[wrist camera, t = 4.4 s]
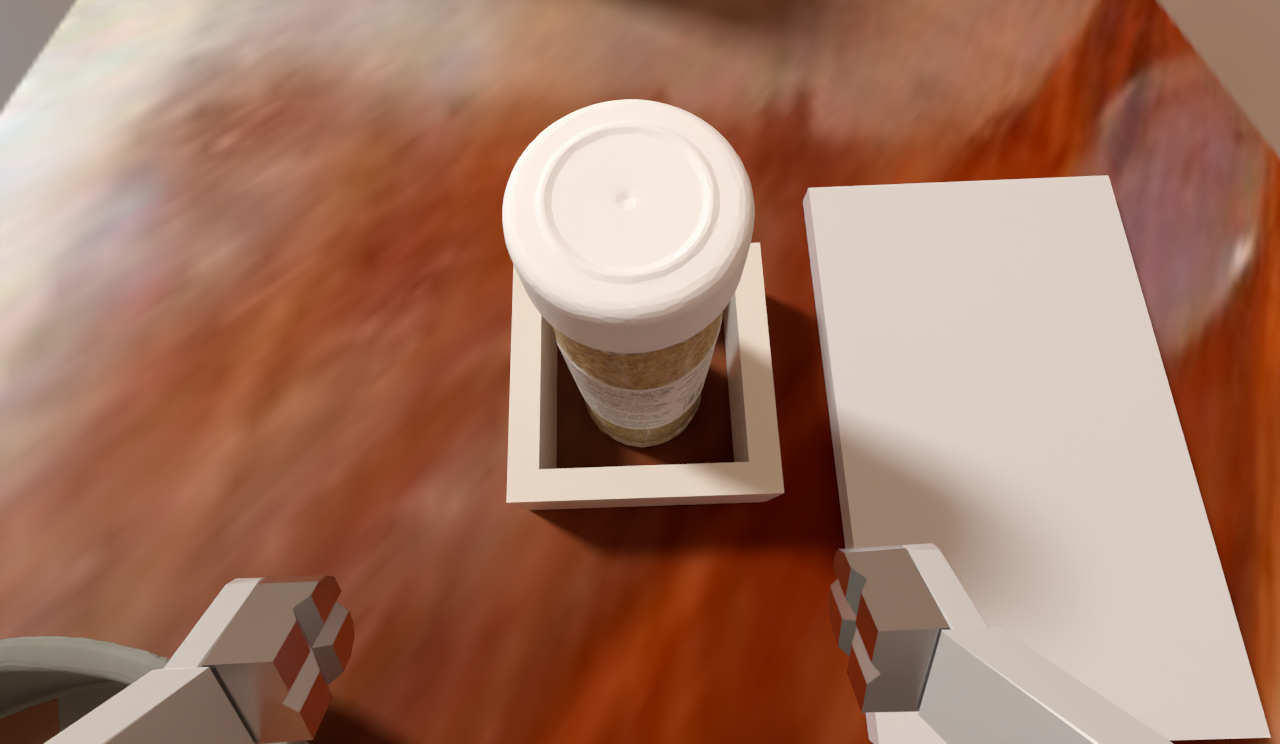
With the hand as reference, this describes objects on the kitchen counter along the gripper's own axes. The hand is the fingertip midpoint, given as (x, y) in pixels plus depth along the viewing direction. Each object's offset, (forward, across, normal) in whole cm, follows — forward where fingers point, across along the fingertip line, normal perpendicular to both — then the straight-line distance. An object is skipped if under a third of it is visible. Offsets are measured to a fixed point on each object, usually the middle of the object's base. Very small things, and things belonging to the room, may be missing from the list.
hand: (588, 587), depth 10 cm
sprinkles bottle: (+13, -1, +4) cm, 14 cm away
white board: (+12, -14, +6) cm, 19 cm away
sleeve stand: (+13, -1, +4) cm, 14 cm away
